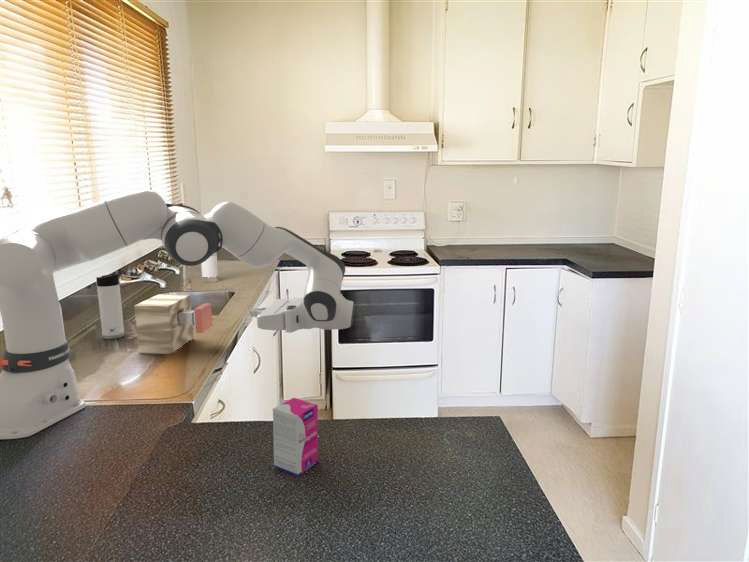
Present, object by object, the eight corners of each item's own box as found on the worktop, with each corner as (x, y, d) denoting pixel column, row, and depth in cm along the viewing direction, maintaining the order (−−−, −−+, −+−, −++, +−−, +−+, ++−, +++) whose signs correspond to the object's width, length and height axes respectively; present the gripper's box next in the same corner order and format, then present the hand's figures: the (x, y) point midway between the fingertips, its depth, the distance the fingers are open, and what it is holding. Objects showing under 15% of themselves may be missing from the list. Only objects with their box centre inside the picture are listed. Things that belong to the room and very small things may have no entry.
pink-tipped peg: (202, 332, 158) (201, 309, 156) (156, 331, 159) (154, 307, 158) (212, 325, 164) (211, 303, 163) (168, 324, 166) (166, 302, 165)
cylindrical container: (215, 283, 250) (212, 228, 245) (200, 283, 250) (196, 228, 245) (220, 279, 257) (217, 226, 252) (205, 279, 257) (201, 226, 252)
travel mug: (117, 340, 169) (110, 276, 165) (98, 338, 170) (91, 275, 166) (129, 333, 175) (123, 272, 171) (111, 332, 176) (104, 271, 172)
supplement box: (299, 478, 94) (296, 416, 92) (273, 468, 97) (270, 408, 95) (319, 462, 99) (318, 403, 97) (294, 453, 102) (292, 396, 100)
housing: (172, 354, 156) (168, 306, 153) (138, 352, 157) (134, 305, 154) (193, 338, 170) (190, 294, 167) (162, 337, 171) (158, 294, 168)
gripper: (306, 294, 166) (262, 293, 168) (288, 312, 147) (238, 311, 148) (307, 314, 168) (263, 313, 169) (289, 334, 148) (240, 333, 149)
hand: (251, 312), depth 159 cm, fingers closed
